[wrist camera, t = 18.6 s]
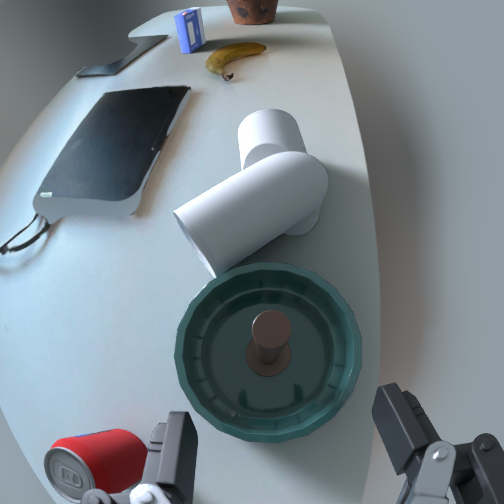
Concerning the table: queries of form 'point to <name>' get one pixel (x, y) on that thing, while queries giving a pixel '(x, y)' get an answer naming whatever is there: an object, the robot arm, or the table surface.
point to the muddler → (269, 344)
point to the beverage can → (95, 463)
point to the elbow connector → (257, 194)
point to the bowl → (240, 334)
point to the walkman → (190, 29)
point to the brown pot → (253, 11)
